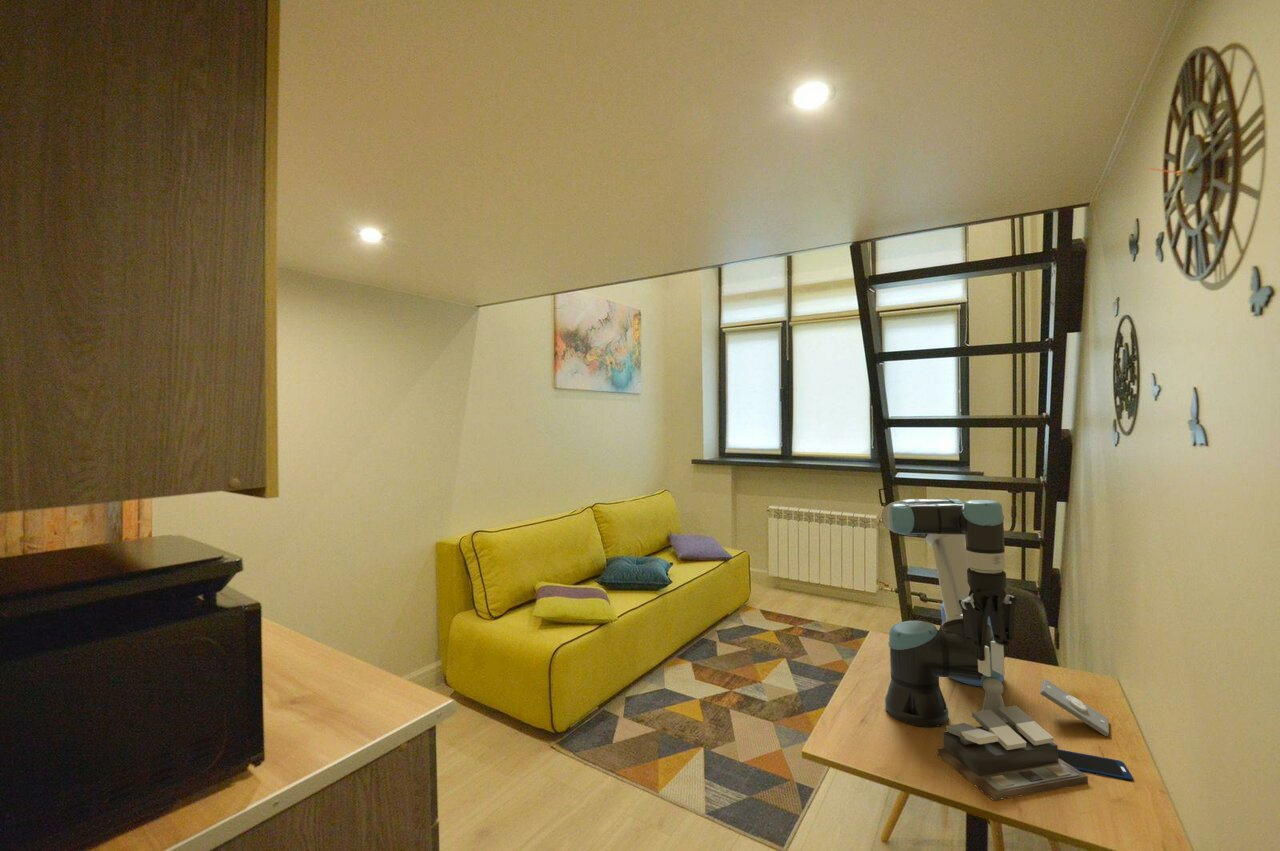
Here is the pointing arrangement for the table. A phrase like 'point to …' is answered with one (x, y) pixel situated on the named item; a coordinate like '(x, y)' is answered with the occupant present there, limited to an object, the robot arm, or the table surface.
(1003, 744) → the middle rocker
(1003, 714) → the right rocker
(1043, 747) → the switch console
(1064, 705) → the light switch
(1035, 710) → the table surface
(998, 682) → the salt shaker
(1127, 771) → the cell phone
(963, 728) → the left rocker
